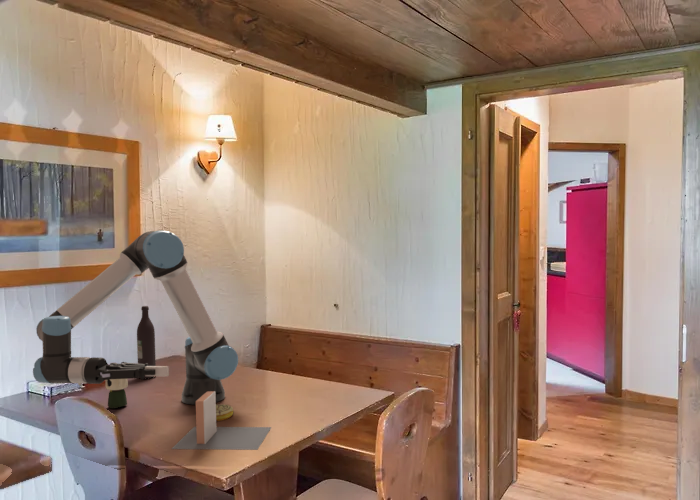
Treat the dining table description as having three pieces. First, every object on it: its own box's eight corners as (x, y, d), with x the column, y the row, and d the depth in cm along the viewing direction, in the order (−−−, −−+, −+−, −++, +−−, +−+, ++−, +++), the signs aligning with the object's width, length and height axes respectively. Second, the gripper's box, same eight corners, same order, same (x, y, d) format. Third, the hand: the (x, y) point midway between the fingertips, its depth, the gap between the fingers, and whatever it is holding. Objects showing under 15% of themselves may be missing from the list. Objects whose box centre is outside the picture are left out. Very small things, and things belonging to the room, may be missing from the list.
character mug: (103, 405, 202) (102, 368, 202) (124, 401, 206) (123, 365, 206) (110, 412, 193) (108, 374, 193) (132, 408, 197) (130, 371, 197)
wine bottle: (143, 375, 245) (141, 305, 244) (159, 375, 244) (156, 305, 243) (134, 379, 238) (132, 307, 237) (151, 379, 237) (148, 307, 236)
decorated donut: (210, 412, 192) (210, 401, 192) (239, 415, 189) (238, 403, 189) (192, 422, 182) (192, 410, 182) (222, 425, 179) (222, 413, 179)
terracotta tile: (208, 431, 171) (207, 391, 171) (216, 431, 171) (215, 391, 171) (196, 443, 161) (195, 401, 161) (205, 443, 161) (204, 401, 161)
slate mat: (194, 428, 176) (194, 426, 176) (271, 429, 174) (271, 427, 174) (171, 450, 158) (171, 448, 158) (257, 451, 156) (257, 449, 156)
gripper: (100, 377, 174) (176, 378, 172) (77, 389, 161) (158, 390, 159) (100, 353, 174) (176, 353, 172) (76, 362, 161) (158, 363, 159)
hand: (167, 371), depth 166 cm, fingers closed
